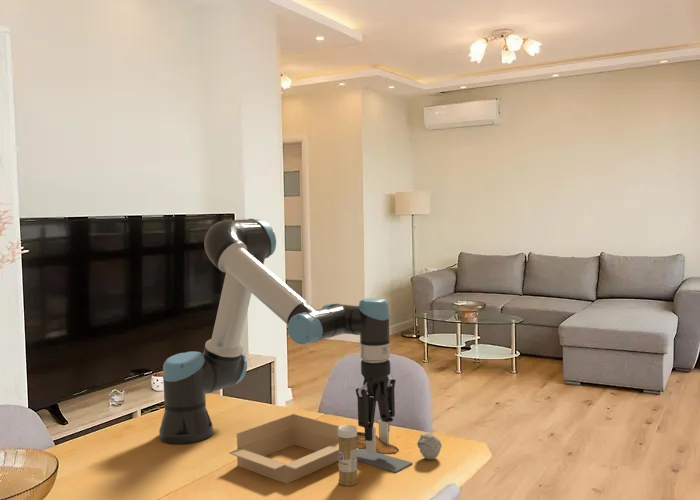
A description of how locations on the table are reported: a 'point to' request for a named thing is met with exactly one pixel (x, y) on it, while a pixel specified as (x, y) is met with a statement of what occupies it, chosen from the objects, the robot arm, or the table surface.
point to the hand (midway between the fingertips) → (377, 448)
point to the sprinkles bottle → (347, 455)
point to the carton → (281, 436)
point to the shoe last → (380, 445)
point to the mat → (382, 461)
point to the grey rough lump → (429, 445)
